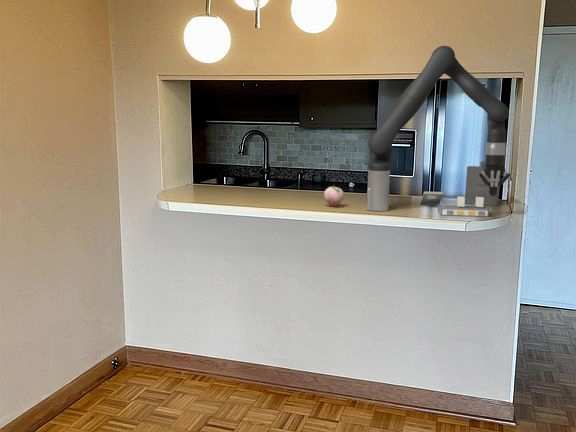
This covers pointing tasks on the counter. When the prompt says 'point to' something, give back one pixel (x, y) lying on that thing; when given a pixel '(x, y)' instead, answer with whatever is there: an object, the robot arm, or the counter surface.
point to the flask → (478, 187)
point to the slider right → (479, 201)
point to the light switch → (431, 198)
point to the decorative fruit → (333, 195)
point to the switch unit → (463, 211)
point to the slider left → (460, 201)
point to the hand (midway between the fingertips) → (492, 195)
